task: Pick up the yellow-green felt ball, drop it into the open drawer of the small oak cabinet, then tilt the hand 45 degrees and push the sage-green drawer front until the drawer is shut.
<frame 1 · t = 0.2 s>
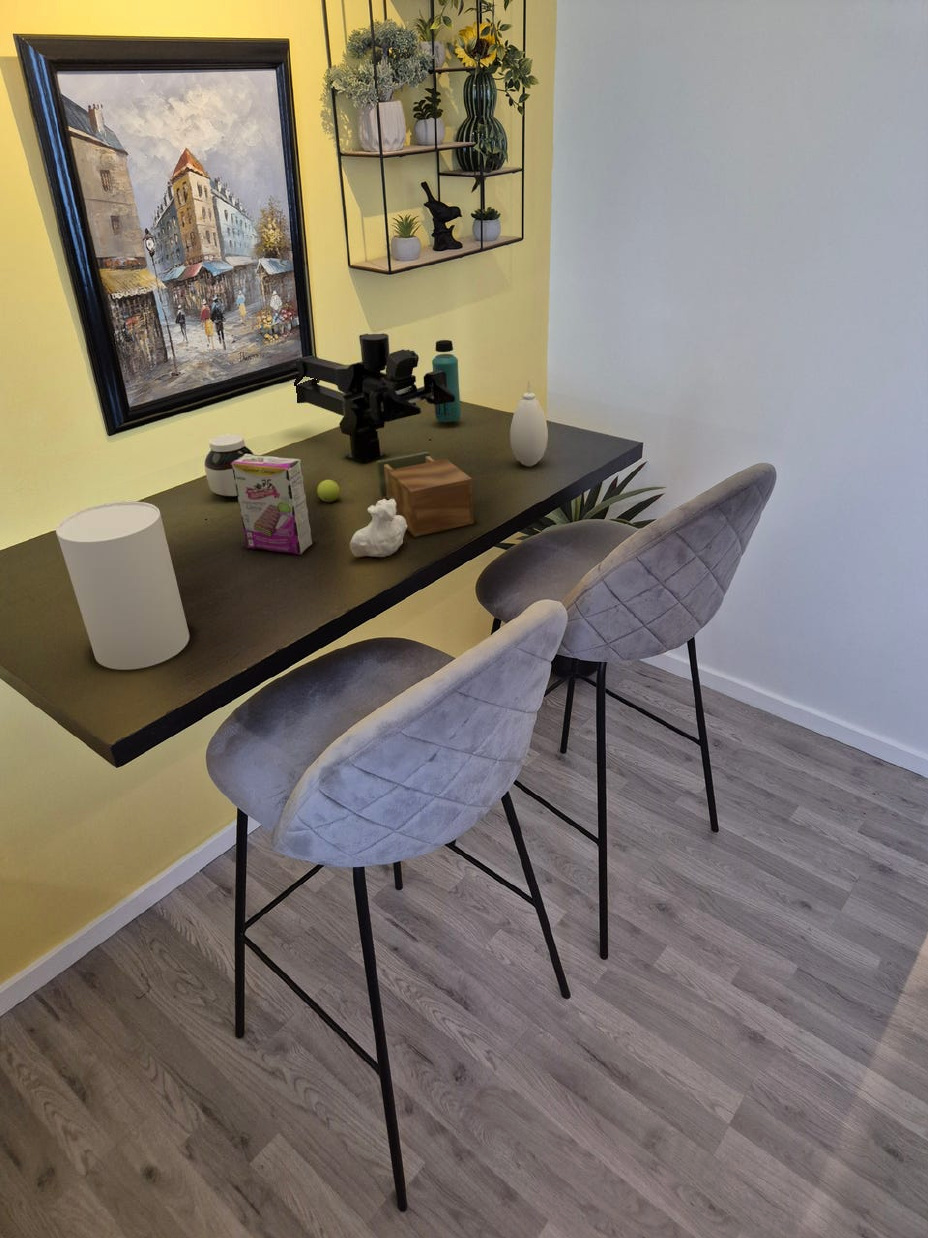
hand: (437, 404, 170), 17 cm above the table, tool horizontal, fingers open, 9 cm apart
white lumpy figure: (383, 553, 152), on the table
beverage bottle: (448, 424, 212), on the table
white air blower bulb: (529, 465, 186), on the table
spread jar: (236, 491, 180), on the table
candy bar box: (280, 547, 156), on the table
canister: (142, 645, 129), on the table
drawer: (412, 480, 169), point 4 cm above the table, slide at 7.0 cm
ball: (328, 490, 172), point 2 cm above the table
cabinet: (432, 518, 163), on the table
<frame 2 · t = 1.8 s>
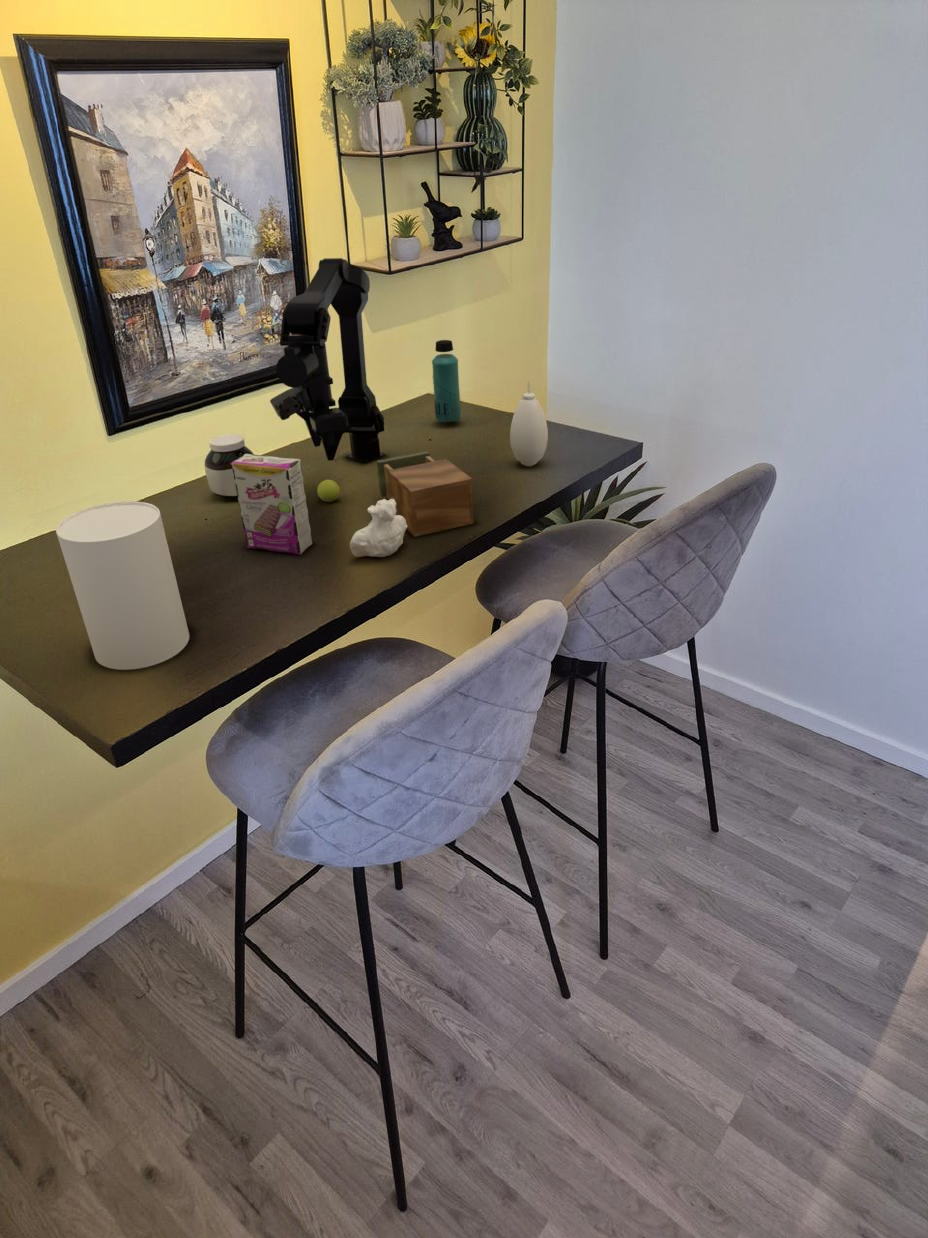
hand: (323, 453, 168), 10 cm above the table, tool pointing down, fingers open, 9 cm apart
nothing on the table moved.
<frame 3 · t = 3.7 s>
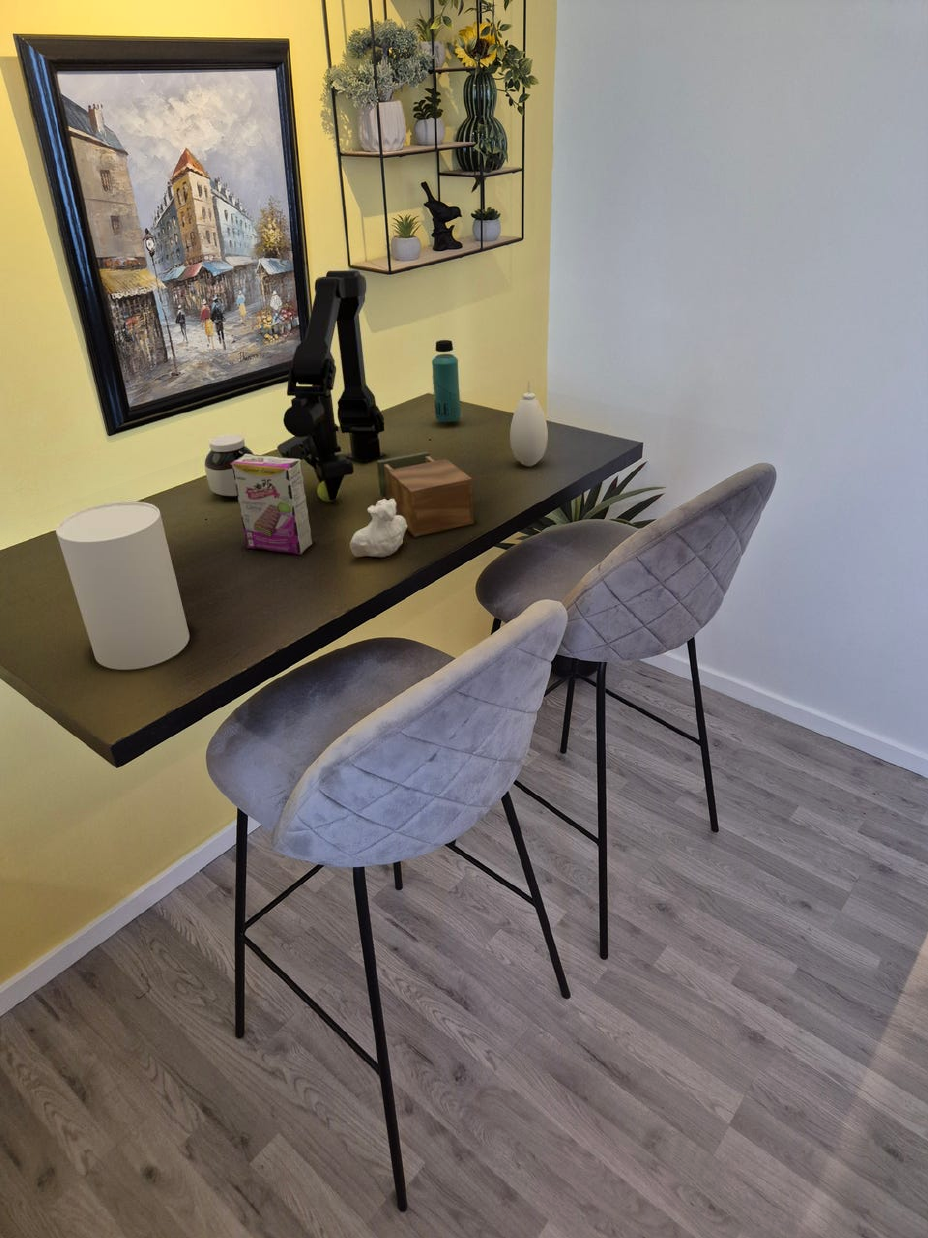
hand: (329, 496, 173), 1 cm above the table, tool pointing down, fingers closed on ball, 4 cm apart
ball: (328, 490, 172), point 2 cm above the table, touching gripper
everything else where it was.
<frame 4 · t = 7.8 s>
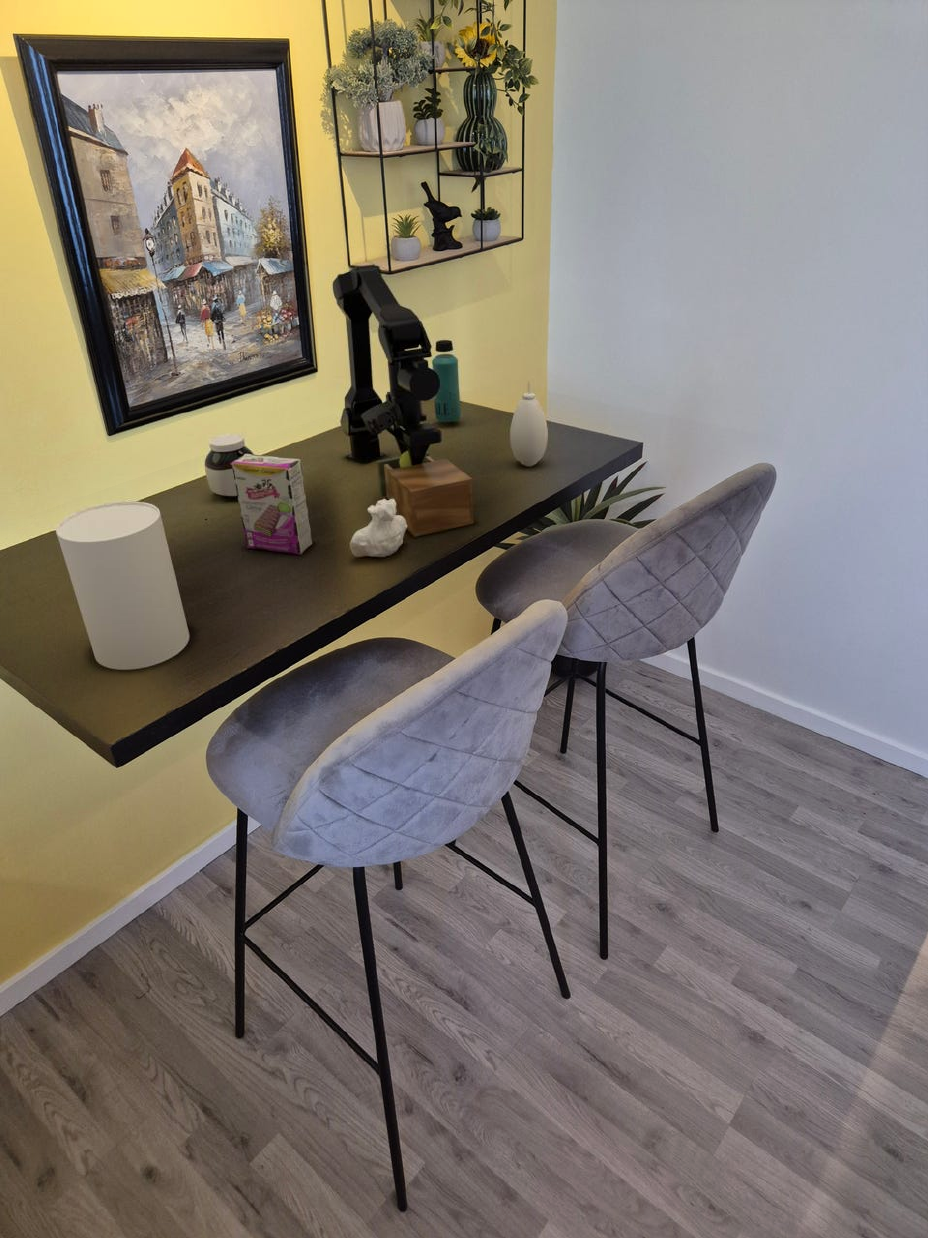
hand: (411, 467, 167), 7 cm above the table, tool pointing down, fingers closed on ball, 4 cm apart
ball: (410, 461, 167), point 8 cm above the table, touching gripper
everything else where it was.
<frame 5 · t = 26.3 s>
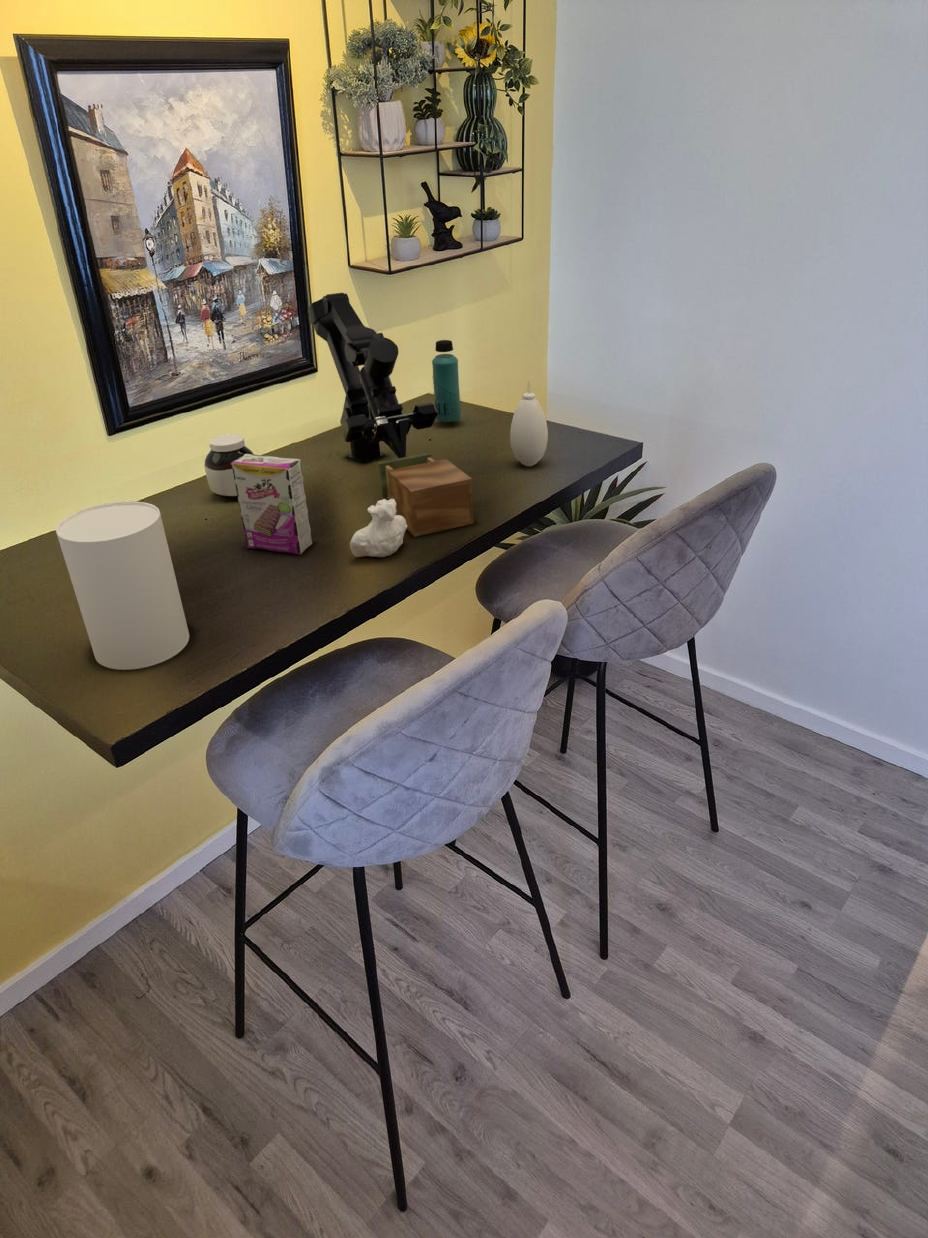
hand: (403, 459, 171), 7 cm above the table, tool tilted 45°, fingers closed, pressing on drawer
drawer: (413, 482, 168), point 4 cm above the table, slide at 6.2 cm, touching ball, gripper
ball: (411, 481, 169), point 4 cm above the table, tilted 39°, touching drawer
everything else where it was.
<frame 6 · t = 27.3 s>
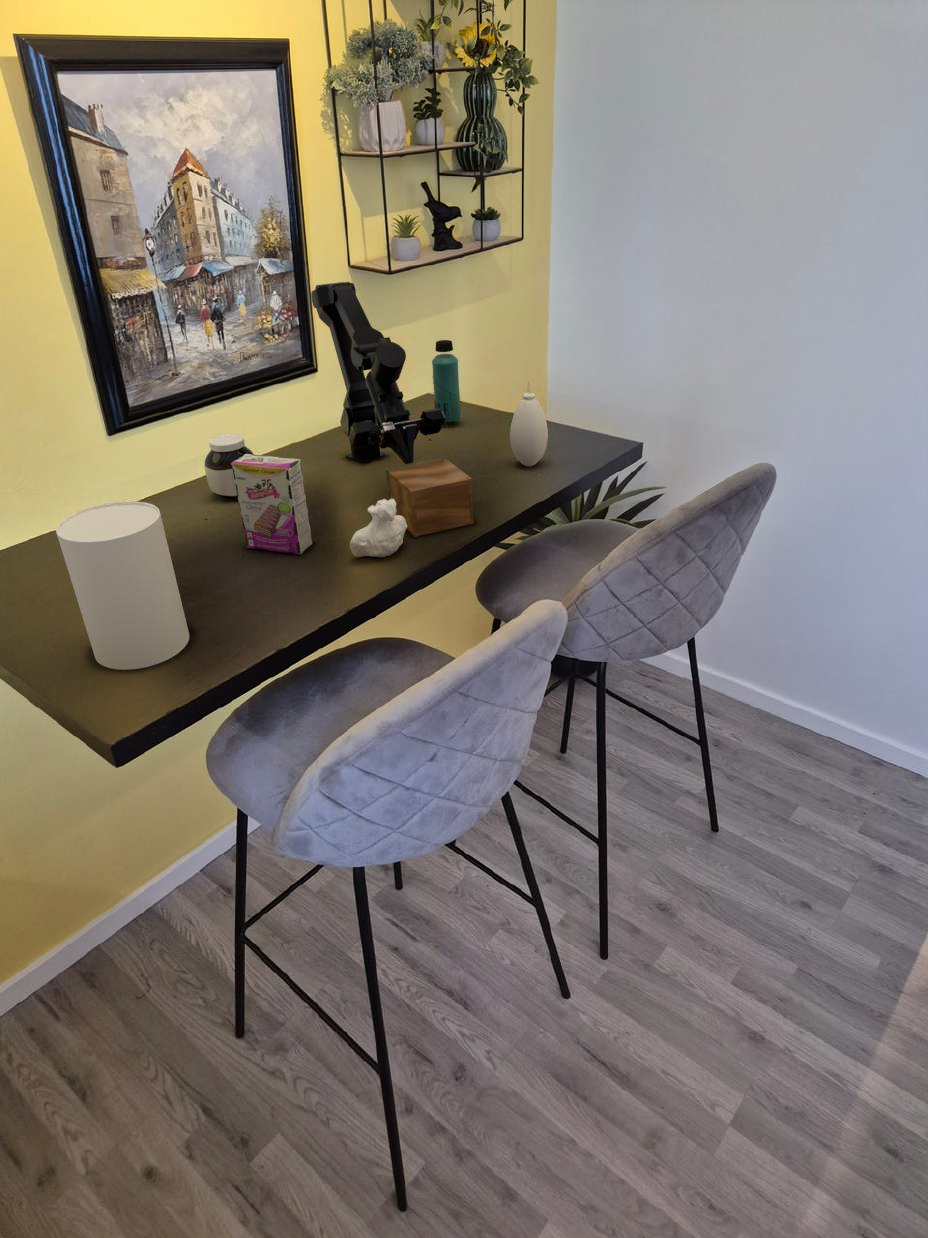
hand: (410, 466, 167), 7 cm above the table, tool tilted 45°, fingers closed, pressing on drawer
drawer: (421, 488, 165), point 4 cm above the table, slide at 2.2 cm, touching ball, gripper
ball: (419, 488, 166), point 4 cm above the table, tilted 32°, touching drawer
everything else where it was.
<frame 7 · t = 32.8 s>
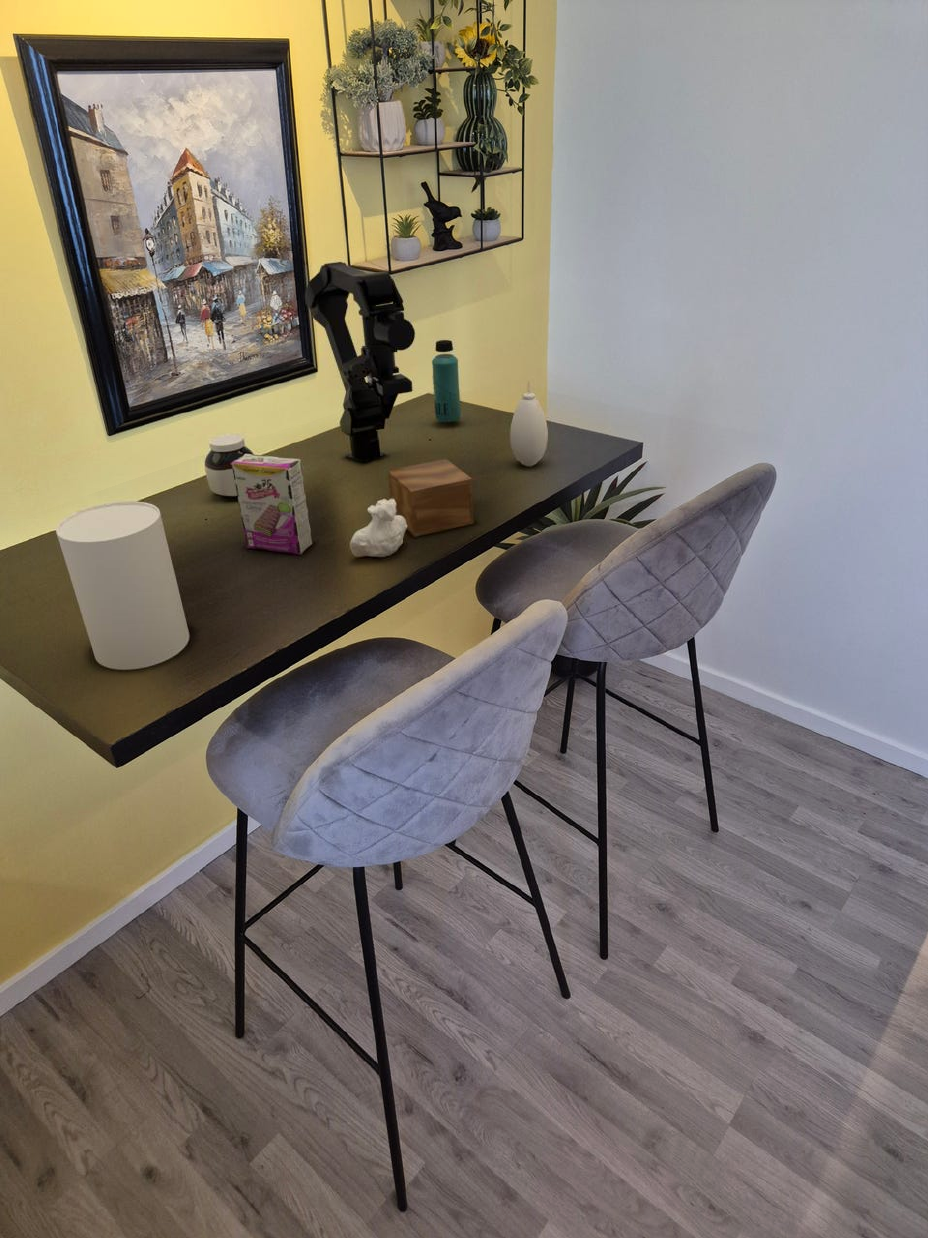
hand: (385, 418, 179), 12 cm above the table, tool pointing down, fingers closed
drawer: (426, 492, 163), point 4 cm above the table, slide at 0.0 cm, touching ball, cabinet
ball: (430, 498, 161), point 4 cm above the table, tilted 58°, touching drawer
everything else where it was.
at the end: ball inside the target area in the cabinet (0.1 cm from its centre), point 4.1 cm above the cabinet's base; drawer slide at 0.0 cm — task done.
